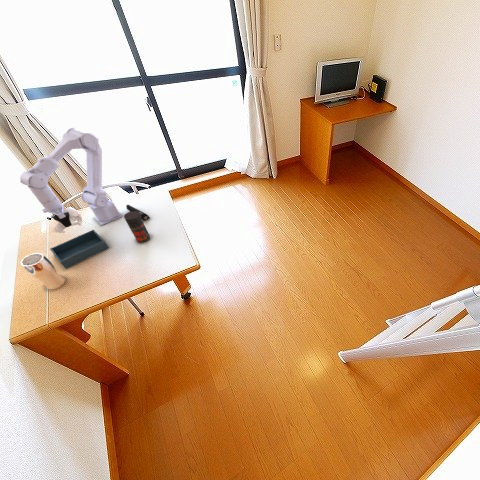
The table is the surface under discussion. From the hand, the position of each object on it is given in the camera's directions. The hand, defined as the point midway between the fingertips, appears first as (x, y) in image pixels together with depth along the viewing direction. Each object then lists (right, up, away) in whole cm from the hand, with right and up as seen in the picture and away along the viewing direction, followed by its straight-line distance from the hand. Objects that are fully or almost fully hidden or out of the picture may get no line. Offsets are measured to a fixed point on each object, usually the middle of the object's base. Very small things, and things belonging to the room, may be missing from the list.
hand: (65, 222), depth 125 cm
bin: (+7, -13, +1) cm, 15 cm away
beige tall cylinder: (+7, -26, -12) cm, 29 cm away
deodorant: (+29, -7, +10) cm, 32 cm away
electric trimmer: (+19, +5, +21) cm, 29 cm away
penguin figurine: (0, -2, +2) cm, 3 cm away
